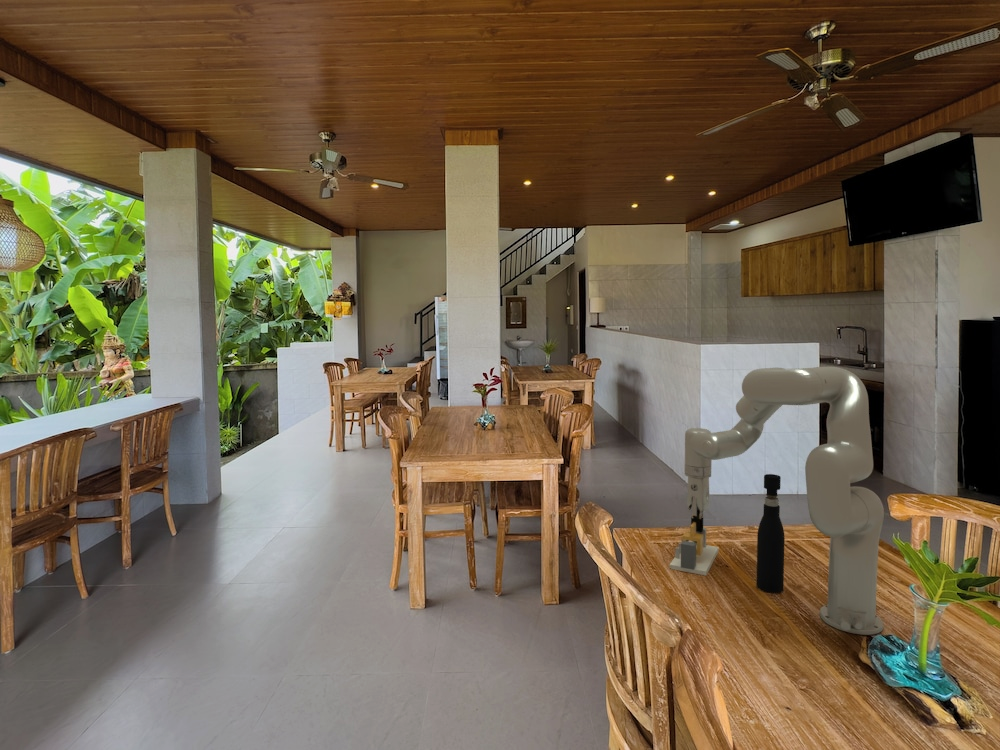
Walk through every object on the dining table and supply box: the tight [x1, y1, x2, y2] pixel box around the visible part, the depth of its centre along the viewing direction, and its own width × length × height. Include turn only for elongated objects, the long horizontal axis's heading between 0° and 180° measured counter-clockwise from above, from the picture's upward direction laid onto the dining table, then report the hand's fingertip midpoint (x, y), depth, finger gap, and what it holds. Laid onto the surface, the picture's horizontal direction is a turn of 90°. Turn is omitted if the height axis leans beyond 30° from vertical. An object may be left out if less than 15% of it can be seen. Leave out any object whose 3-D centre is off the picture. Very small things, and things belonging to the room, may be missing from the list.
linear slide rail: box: [669, 527, 720, 577], centre depth 170 cm, size 20×10×8 cm, turn 150°
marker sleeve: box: [682, 522, 703, 556], centre depth 167 cm, size 4×5×8 cm
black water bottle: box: [756, 473, 786, 594], centre depth 150 cm, size 6×6×30 cm
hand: (697, 530), depth 173 cm, fingers closed
